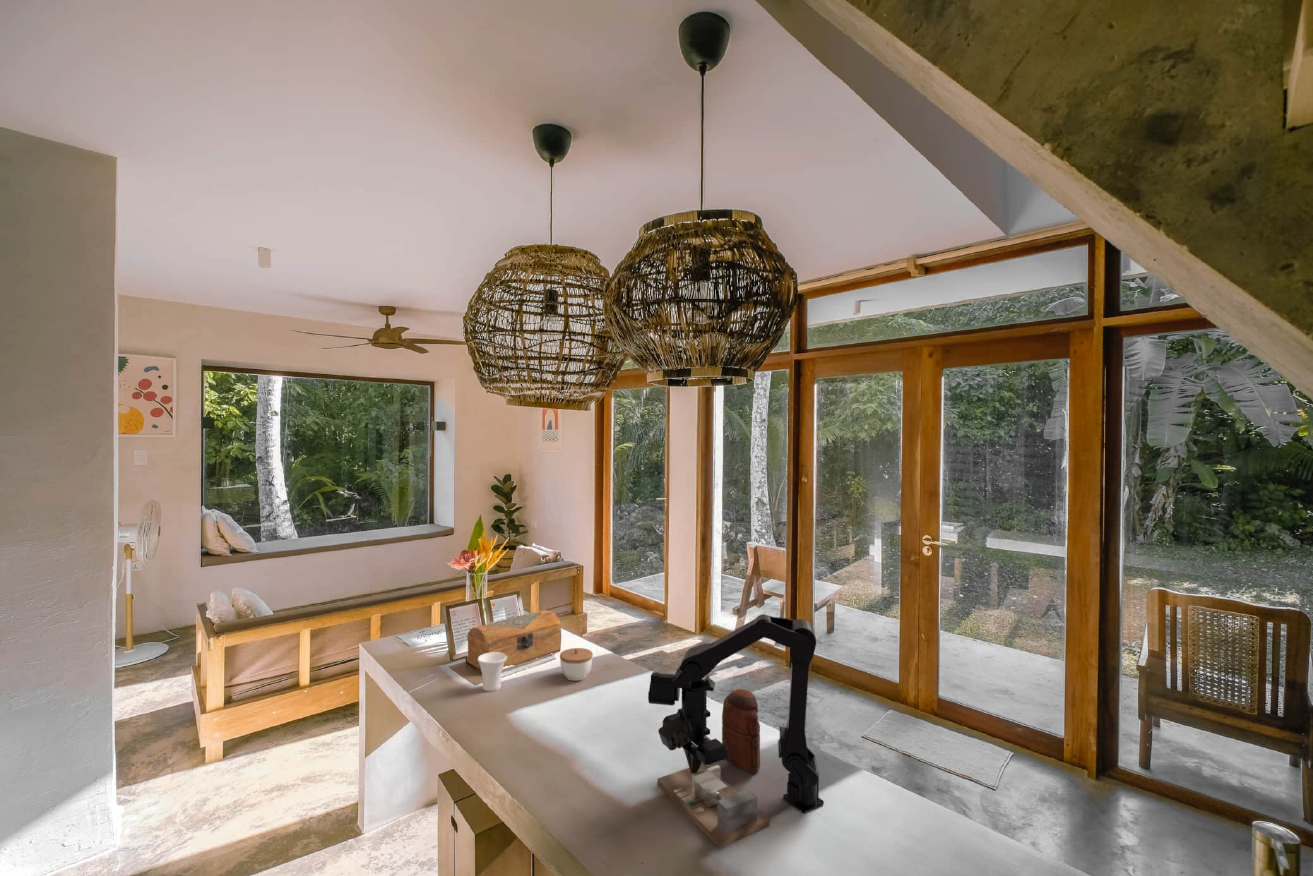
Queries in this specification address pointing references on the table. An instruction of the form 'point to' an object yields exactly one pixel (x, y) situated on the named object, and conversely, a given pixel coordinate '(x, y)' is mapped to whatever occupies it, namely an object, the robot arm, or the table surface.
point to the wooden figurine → (741, 730)
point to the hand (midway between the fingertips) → (693, 773)
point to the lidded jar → (576, 663)
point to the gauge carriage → (708, 786)
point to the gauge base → (716, 809)
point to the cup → (492, 669)
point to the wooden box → (517, 638)
